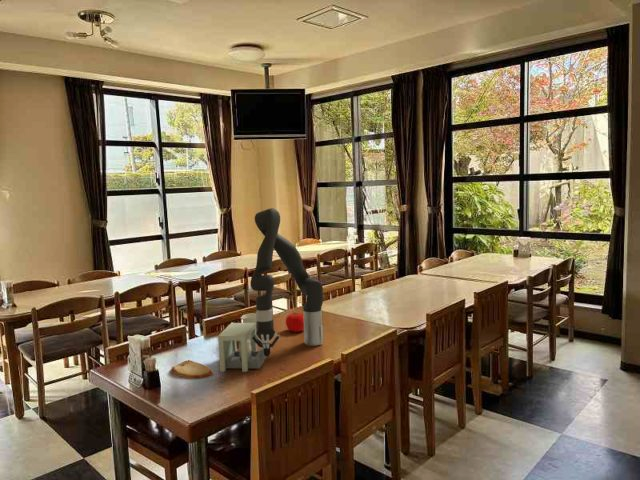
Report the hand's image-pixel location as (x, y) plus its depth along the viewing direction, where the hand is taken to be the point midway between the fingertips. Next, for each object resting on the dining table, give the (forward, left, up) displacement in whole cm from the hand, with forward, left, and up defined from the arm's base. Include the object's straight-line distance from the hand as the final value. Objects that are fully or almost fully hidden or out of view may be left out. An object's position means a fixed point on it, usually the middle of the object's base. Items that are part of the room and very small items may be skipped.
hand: (267, 355), depth 219 cm
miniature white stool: (+13, 0, -4) cm, 14 cm away
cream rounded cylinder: (+10, 0, -2) cm, 10 cm away
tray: (+10, 0, -3) cm, 10 cm away
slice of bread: (+32, +11, -4) cm, 34 cm away
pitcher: (+14, -34, -4) cm, 37 cm away
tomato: (-6, -49, -4) cm, 50 cm away
